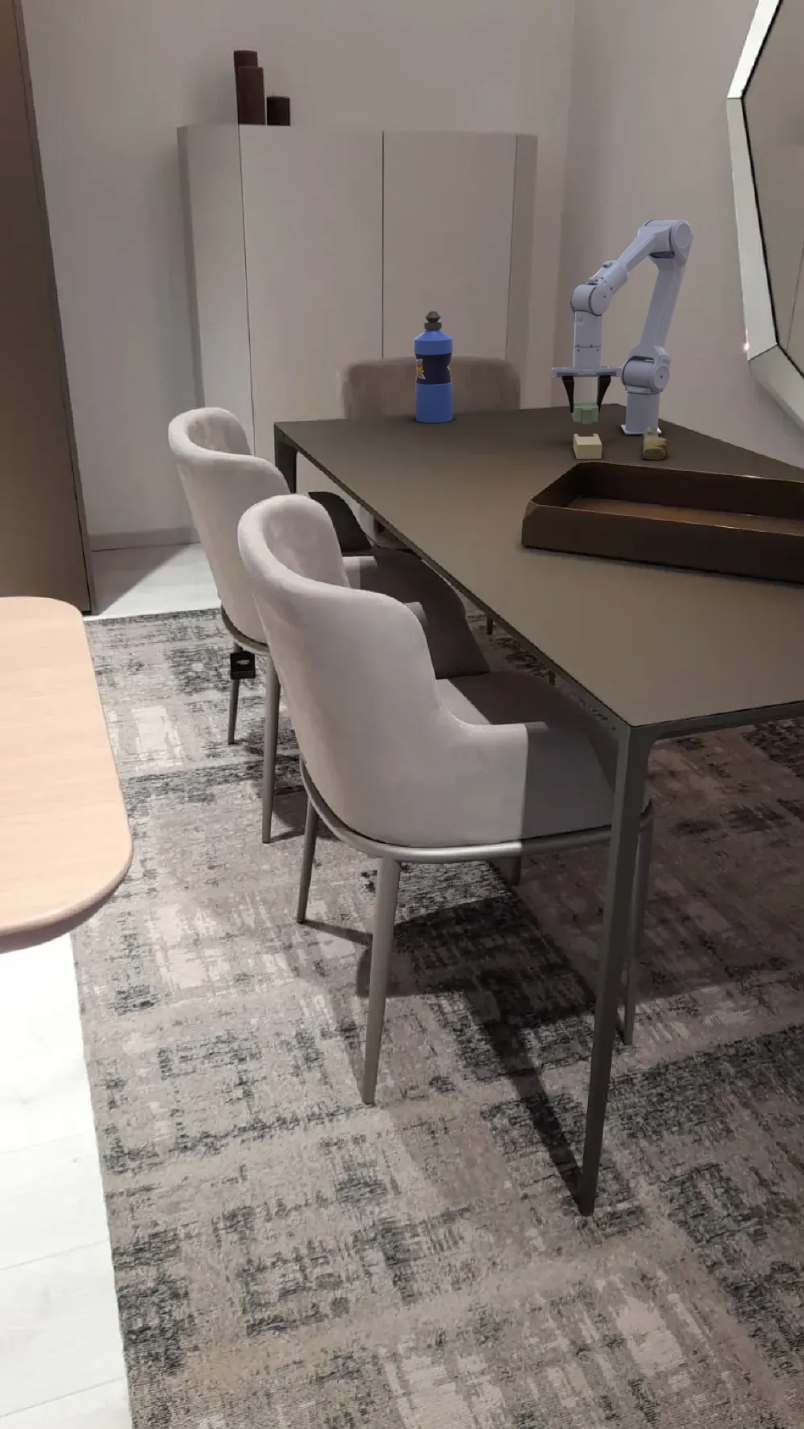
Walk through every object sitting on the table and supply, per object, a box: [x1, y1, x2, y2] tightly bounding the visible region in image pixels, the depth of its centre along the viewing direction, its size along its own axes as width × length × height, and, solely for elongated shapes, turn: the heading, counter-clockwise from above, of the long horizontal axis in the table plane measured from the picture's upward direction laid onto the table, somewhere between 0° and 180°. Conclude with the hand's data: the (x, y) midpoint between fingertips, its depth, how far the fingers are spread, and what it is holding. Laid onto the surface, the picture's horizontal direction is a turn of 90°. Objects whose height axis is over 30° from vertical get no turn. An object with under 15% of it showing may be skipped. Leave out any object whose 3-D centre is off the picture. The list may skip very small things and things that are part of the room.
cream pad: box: [572, 433, 603, 460], centre depth 230 cm, size 11×5×3 cm, turn 176°
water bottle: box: [413, 310, 454, 424], centre depth 266 cm, size 9×9×25 cm
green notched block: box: [571, 400, 599, 425], centre depth 236 cm, size 10×5×3 cm, turn 176°
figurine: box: [641, 427, 670, 461], centre depth 229 cm, size 5×5×15 cm
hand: (584, 411), depth 237 cm, fingers closed on green notched block, 5 cm apart
